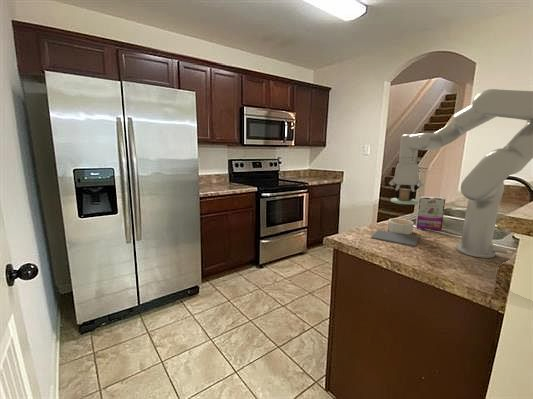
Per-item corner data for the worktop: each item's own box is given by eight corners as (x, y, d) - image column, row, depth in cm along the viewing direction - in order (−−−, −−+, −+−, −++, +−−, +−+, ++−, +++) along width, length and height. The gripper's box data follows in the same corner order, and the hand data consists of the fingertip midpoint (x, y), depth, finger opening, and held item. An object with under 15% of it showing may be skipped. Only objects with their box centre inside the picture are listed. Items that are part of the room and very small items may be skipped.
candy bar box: (439, 228, 137) (443, 197, 134) (441, 231, 132) (446, 198, 129) (414, 225, 141) (418, 195, 138) (416, 228, 137) (419, 197, 133)
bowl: (413, 230, 133) (414, 220, 132) (410, 236, 125) (411, 226, 124) (390, 226, 140) (391, 217, 138) (385, 231, 131) (386, 222, 130)
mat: (419, 238, 122) (419, 236, 122) (415, 246, 112) (415, 245, 112) (377, 230, 132) (377, 229, 132) (371, 238, 122) (371, 236, 122)
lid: (419, 201, 130) (420, 189, 129) (416, 205, 120) (418, 192, 119) (393, 198, 137) (393, 187, 136) (388, 202, 127) (389, 190, 126)
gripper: (429, 161, 123) (425, 199, 127) (389, 160, 133) (387, 196, 136) (428, 161, 117) (423, 202, 121) (386, 161, 127) (383, 198, 130)
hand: (404, 198), depth 128 cm, fingers closed on lid, 5 cm apart
